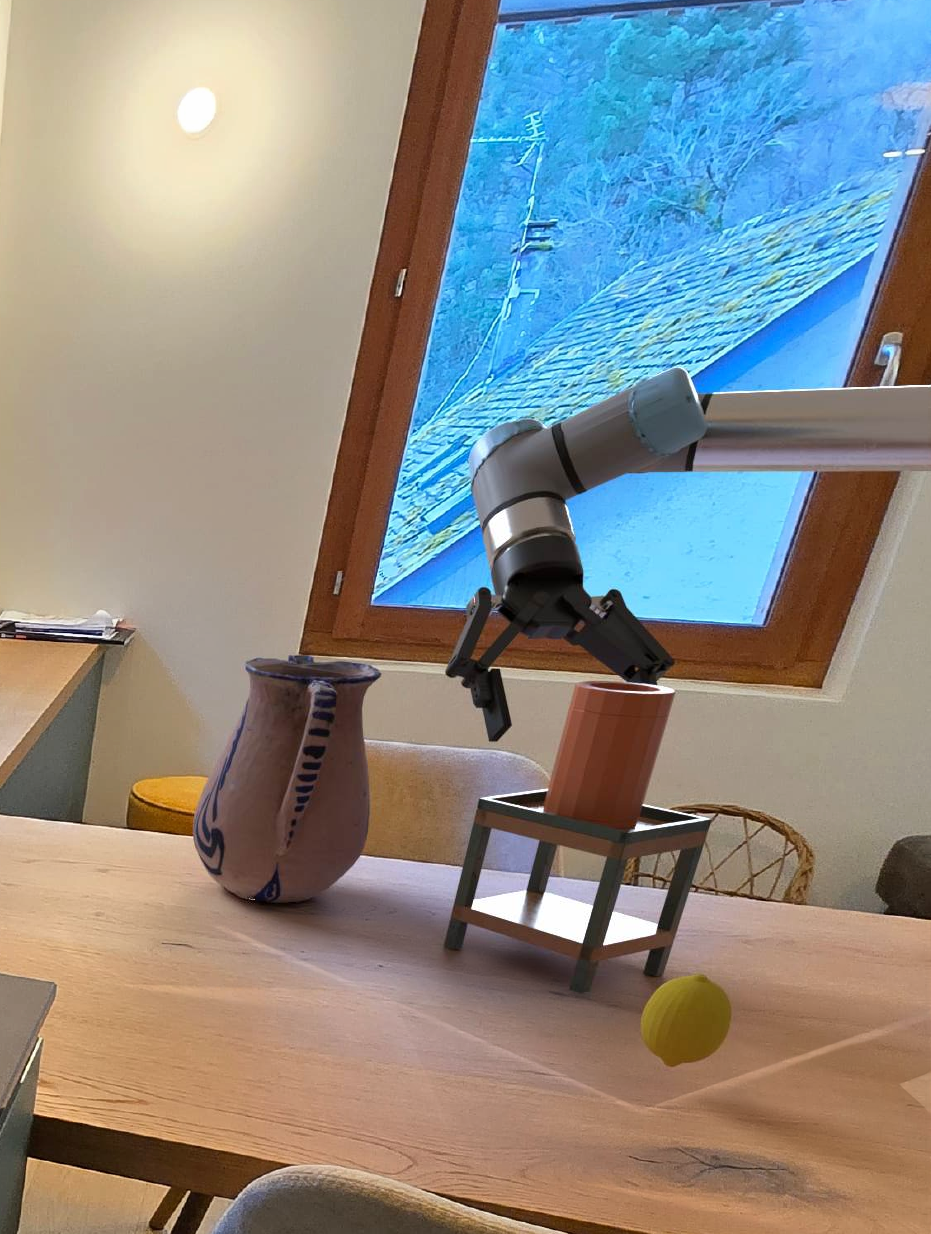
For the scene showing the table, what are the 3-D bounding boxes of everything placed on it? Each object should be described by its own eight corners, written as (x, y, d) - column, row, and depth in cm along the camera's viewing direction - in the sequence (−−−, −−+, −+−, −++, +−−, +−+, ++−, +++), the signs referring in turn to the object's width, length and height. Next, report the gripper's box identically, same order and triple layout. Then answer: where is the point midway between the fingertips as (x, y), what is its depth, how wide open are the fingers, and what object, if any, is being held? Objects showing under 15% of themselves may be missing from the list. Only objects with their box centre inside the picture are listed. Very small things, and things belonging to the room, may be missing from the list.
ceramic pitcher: (322, 866, 154) (366, 648, 143) (389, 934, 135) (446, 688, 124) (168, 863, 156) (201, 648, 145) (213, 929, 137) (254, 687, 126)
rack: (663, 974, 124) (712, 819, 118) (581, 994, 119) (628, 832, 113) (522, 930, 135) (560, 786, 129) (443, 946, 131) (478, 798, 125)
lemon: (641, 1077, 103) (672, 984, 99) (618, 1046, 108) (648, 957, 104) (723, 1086, 101) (758, 992, 98) (697, 1055, 106) (729, 964, 103)
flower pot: (654, 823, 120) (694, 690, 115) (603, 832, 117) (641, 695, 113) (575, 806, 126) (609, 679, 122) (524, 813, 123) (557, 683, 119)
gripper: (637, 585, 135) (685, 760, 127) (389, 581, 137) (420, 754, 129) (685, 532, 128) (739, 714, 120) (423, 529, 130) (458, 709, 122)
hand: (574, 735), depth 125 cm, fingers open, 13 cm apart
